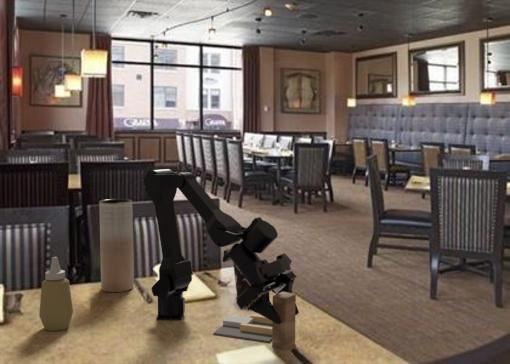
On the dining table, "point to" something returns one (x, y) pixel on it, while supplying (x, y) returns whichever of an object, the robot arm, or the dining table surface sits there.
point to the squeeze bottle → (55, 299)
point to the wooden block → (284, 320)
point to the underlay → (247, 328)
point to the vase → (116, 245)
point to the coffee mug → (239, 281)
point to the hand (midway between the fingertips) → (289, 318)
